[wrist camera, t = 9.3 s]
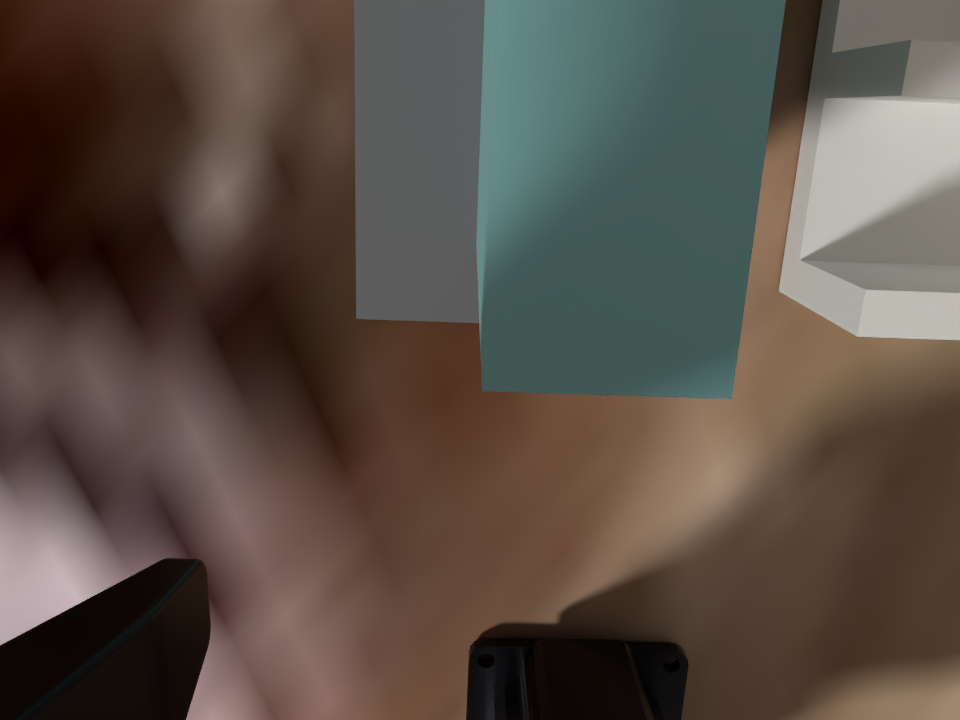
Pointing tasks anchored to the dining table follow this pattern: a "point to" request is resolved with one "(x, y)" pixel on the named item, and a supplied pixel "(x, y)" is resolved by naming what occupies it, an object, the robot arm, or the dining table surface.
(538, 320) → the teal flat block
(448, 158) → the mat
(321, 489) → the dining table surface
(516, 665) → the robot arm
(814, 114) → the rack
